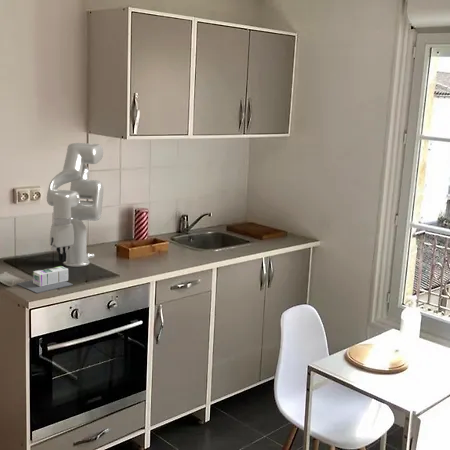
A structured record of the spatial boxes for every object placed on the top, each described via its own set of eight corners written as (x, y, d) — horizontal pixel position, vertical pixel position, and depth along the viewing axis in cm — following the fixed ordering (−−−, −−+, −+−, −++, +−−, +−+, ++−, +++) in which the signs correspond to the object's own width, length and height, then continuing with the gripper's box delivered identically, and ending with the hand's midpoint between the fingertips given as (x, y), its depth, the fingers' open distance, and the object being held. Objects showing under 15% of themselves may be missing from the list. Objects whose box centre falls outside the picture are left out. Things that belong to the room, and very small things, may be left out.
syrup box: (68, 268, 277) (39, 273, 267) (68, 281, 278) (39, 287, 268) (61, 265, 281) (32, 270, 270) (61, 278, 282) (32, 283, 271)
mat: (52, 276, 284) (52, 275, 284) (72, 285, 274) (72, 284, 274) (16, 284, 271) (16, 283, 271) (36, 293, 261) (36, 292, 261)
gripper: (71, 217, 281) (71, 256, 285) (42, 221, 270) (43, 262, 274) (81, 220, 277) (81, 260, 280) (52, 224, 265) (52, 266, 269)
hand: (62, 261), depth 277 cm, fingers closed
